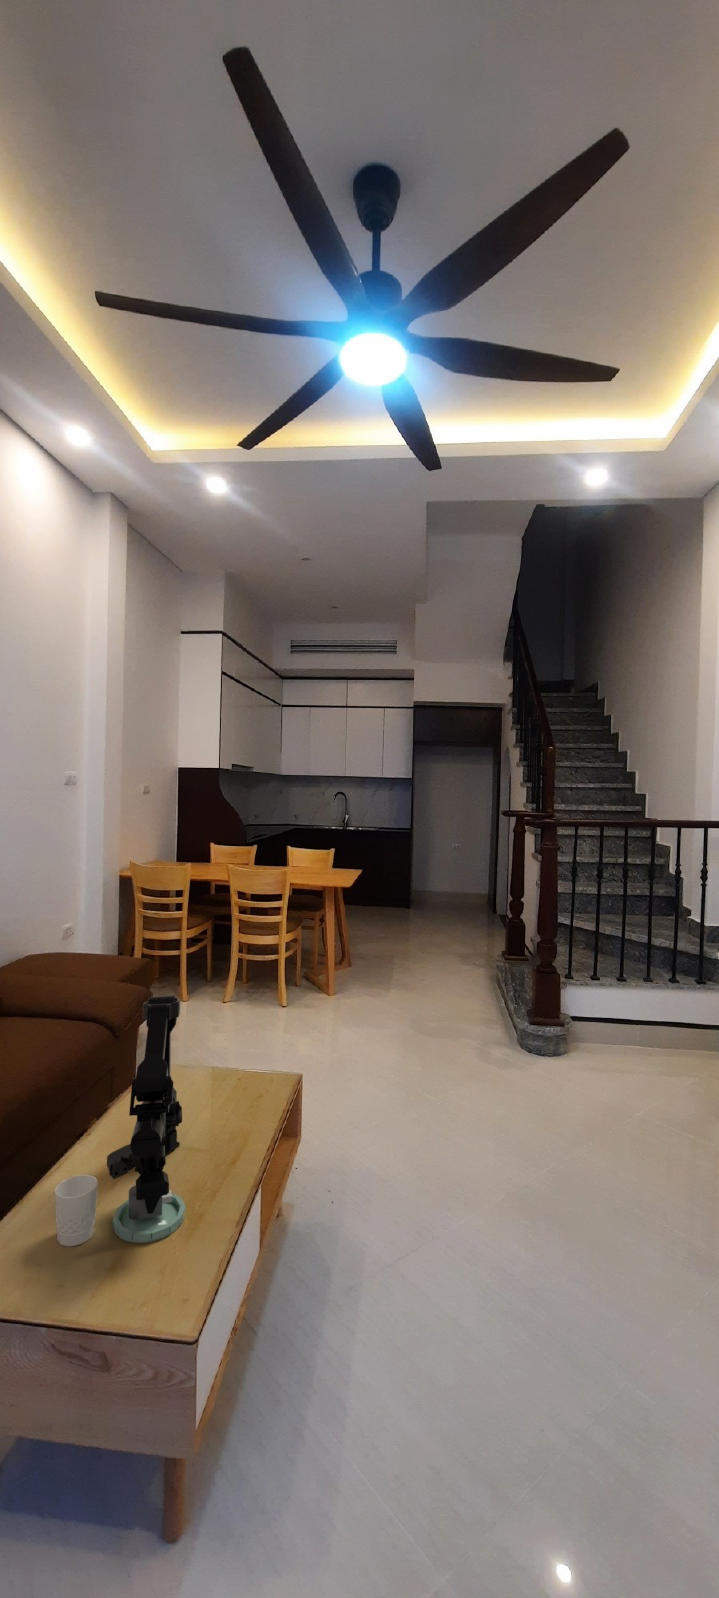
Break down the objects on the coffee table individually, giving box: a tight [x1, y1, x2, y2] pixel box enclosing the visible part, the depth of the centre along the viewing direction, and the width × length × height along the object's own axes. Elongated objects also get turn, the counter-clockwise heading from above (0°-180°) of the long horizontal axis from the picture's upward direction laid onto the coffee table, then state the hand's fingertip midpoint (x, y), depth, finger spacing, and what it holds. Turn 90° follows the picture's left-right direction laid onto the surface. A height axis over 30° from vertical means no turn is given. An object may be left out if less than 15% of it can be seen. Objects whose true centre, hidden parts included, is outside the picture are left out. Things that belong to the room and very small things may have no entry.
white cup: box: [54, 1174, 99, 1247], centre depth 131 cm, size 8×8×10 cm
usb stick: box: [128, 1184, 173, 1220], centre depth 136 cm, size 8×4×5 cm, turn 111°
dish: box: [112, 1192, 186, 1244], centre depth 136 cm, size 14×14×2 cm
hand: (149, 1207), depth 136 cm, fingers closed on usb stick, 4 cm apart
